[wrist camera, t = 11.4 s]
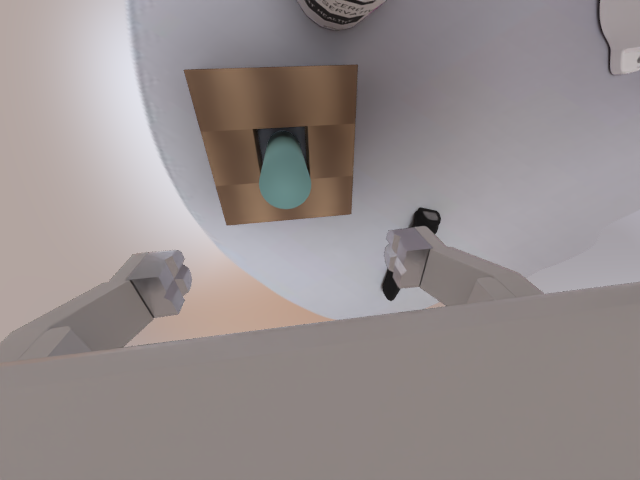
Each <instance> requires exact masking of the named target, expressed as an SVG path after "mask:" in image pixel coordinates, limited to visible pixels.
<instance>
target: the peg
mask: <svg viewBox="0 0 640 480" xmlns="http://www.w3.org/2000/svg"><path fill="white" fill-rule="evenodd" d="M259 188H260V192H261V194H262V196H263V198H264V199H265V200H266V201H267V202H268V203H269V204H271V205H272V206H274V207H276V208H280V209H292V208H295V207H298V206H299V205H301V204H302V203H303V202H304V201H305V200H306V199H307V198H308V196H309V194H310V191H311V179H310V176H309V172H308V169H307V166H306V163H305V160H304V157H303V154H302V150H301V147H300V144H299V141H298V139H297V138H296V137H295V136H294V135H293V134H292V133H290V132H288V131H277V132H275V133H274V134H273V135H272V136H271V137H270V138H269V140H268V143H267V148H266V152H265V157H264V161H263V165H262V170H261V174H260V179H259Z"/></svg>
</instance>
